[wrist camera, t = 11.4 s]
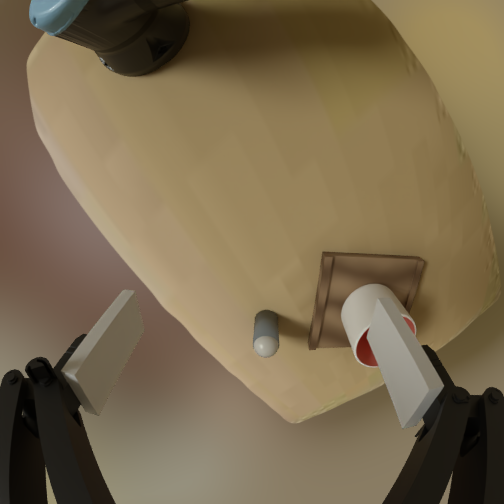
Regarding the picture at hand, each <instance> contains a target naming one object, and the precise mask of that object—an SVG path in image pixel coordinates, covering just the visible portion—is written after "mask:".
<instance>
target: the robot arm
mask: <svg viewBox="0 0 504 504" xmlns="http://www.w3.org/2000/svg"><path fill="white" fill-rule="evenodd" d="M185 1H188V0H32V1H31V5H30V10H29V16H30V20H31V22H32V24H33V25H34V26H35V27H37V28H39V29H41V30H43V31H45V32H47V33H48V34H49V35H51V36H56V37H59V38H62V39H65V40H68V41H70V42H73V43H76V44H79V45H81V46H84V47H86V48H89V49H91V50H94V51H95V53H96V54H97V56H98V57H99V58H100V60H101V62H102V63H103V64H104V66H105V67H107V68H108V69H109V70H111V71H113V72H115V73H118V74H120V75H124V76H139V75H144V74H147V73H150V72H152V71H154V70H156V69H158V68H160V67H161V66H163V65H164V64H166V63H167V62H168V61H170V60H171V59H172V58H173V57H174V56H175V55H176V54H177V53H178V51H179V50H180V49H181V47H182V46H183V44H184V42H185V40H186V38H187V35H188V32H189V18H188V15H187V13H186V11H185V10H184V8H183V7H182V6H181V4H180V3H181V2H185ZM143 332H144V326H143V322H142V318H141V314H140V310H139V305H138V301H137V296H136V291H134V290H123V291H122V292H121V293H120V295H119V296H118V297H117V298H116V299H115V301H114V302H113V303H112V304H111V305H110V307H109V308H108V309H107V310H106V312H105V313H104V314H103V316H102V317H101V318H100V319H99V321H98V322H97V323H96V324H95V325H94V327H93V328H92V329H91V331H90V332H89V333H88V335H87V334H82V335H81V336H80V337H78V338H76V339H75V341H74V342H73V343H72V344H71V346H70V347H69V348H68V350H67V351H66V353H65V354H64V355H63V356H62V358H61V359H60V360H59V362H58V363H57V364H56V366H55V367H54V368H52V366H51V364H50V363H49V361H48V360H47V359H46V358H43V357H37V358H35V359H32V360H31V361H30V362H29V363H28V364H27V366H26V368H25V371H26V373H27V375H28V376H29V378H24V376H23V375H22V373H21V372H20V371H19V370H15V369H14V370H11V371H9V372H7V373H6V374H5V375H4V377H3V379H2V383H1V386H0V504H48V501H47V490H46V471H45V464H46V468H47V472H48V475H49V479H50V483H51V486H52V489H53V493H54V495H55V499H56V501H57V504H116V503H115V501H114V499H113V498H112V495H111V493H110V491H109V489H108V487H107V485H106V483H105V480H104V479H103V476H102V474H101V471H100V469H99V466H98V464H97V461H96V459H95V456H94V454H93V451H92V448H91V445H90V442H89V439H88V437H87V433H86V430H85V427H84V424H83V420H82V417H81V414H80V412H79V410H78V408H79V406H80V405H82V406H83V408H84V409H85V411H86V412H89V413H92V414H95V415H98V416H99V415H100V413H101V411H102V409H103V407H104V405H105V403H106V401H107V399H108V397H109V395H110V393H111V391H112V389H113V387H114V385H115V383H116V382H117V380H118V378H119V376H120V374H121V372H122V370H123V368H124V366H125V365H126V363H127V361H128V359H129V357H130V355H131V353H132V352H133V350H134V348H135V346H136V344H137V343H138V341H139V339H140V337H141V336H142V334H143ZM366 338H367V340H368V342H369V344H370V347H371V349H372V351H373V354H374V356H375V359H376V361H377V363H378V366H379V368H380V371H381V373H382V376H383V378H384V381H385V383H386V386H387V388H388V391H389V394H390V396H391V399H392V402H393V404H394V407H395V410H396V412H397V415H398V418H399V421H400V423H401V426H402V429H404V428H408V427H412V426H416V425H417V424H418V423H419V421H420V420H421V419H422V418H423V421H424V423H425V424H424V425H423V426H422V428H421V429H420V430H419V431H418V433H417V434H416V435H415V437H417V436H418V438H417V440H416V442H415V444H414V446H413V449H412V451H411V453H410V455H409V457H408V459H407V461H406V463H405V465H404V467H403V469H402V471H401V473H400V474H399V477H398V478H397V480H396V482H395V483H394V485H393V487H392V488H391V490H390V492H389V493H388V495H387V497H386V498H385V500H384V502H383V503H382V504H439V503H440V501H441V499H442V496H443V494H444V492H445V490H446V487H447V485H448V482H449V479H450V477H451V474H452V471H453V475H452V481H451V488H450V493H449V499H448V504H504V396H503V394H502V392H501V391H500V390H498V389H497V388H494V387H489V388H487V389H486V390H485V392H484V393H483V394H482V395H470V394H469V393H468V391H467V390H466V389H464V388H462V387H456V386H455V385H454V383H453V381H452V380H451V378H450V376H449V375H448V373H447V371H446V369H445V368H444V366H442V363H441V362H440V360H439V358H438V356H437V355H436V353H435V352H434V350H432V349H431V348H430V347H429V346H428V345H422V346H421V345H420V343H419V342H418V340H417V338H416V337H415V335H414V334H413V332H412V330H411V329H410V327H409V326H408V324H407V323H406V321H405V320H404V318H403V316H402V315H401V313H400V312H399V310H398V309H397V307H396V306H395V304H394V303H393V302H392V300H391V299H390V298H378V299H377V302H376V306H375V310H374V314H373V317H372V321H371V324H370V327H369V331H368V334H367V337H366ZM22 412H23V415H22Z"/></svg>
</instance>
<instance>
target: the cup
mask: <svg viewBox="0 0 504 504" xmlns="http://www.w3.org/2000/svg"><path fill="white" fill-rule="evenodd" d="M378 298H390V299H391V300H392V302H393V303H394V304H395V306H396V307H397V309H398V310H399V312H400V313H401V315H402V316H403V318H404V320H405V321H406V323H407V324H408V326H409V327H410V329H411V330H412V332H413V334H414V335H415V336H416V325H415V322H414V320H413V319H412V318H411V316H410V315H409V313H408V312H407V311H406V309H405V308H404V307H403V305H402V304H401V303H400V301H399V300H398V299H397V297H396V296H395V295H394V293H393V292H392V291H391V290H390V289H389V288H388V287H386V286H384V285H381V284H367V285H364V286H362V287H360V288H358V289H356V290H355V291H353V292H352V293H351V294H350V295H349V296H348V298H347V299H346V301H345V303H344V305H343V307H342V311H341V319H342V323H343V326H344V328H345V331H346V334H347V336H348V339H349V342H350V344H351V347H352V350H353V353H354V355H355V358H356V360H357V361H358V362H359V363H360V364H362V365H364V366H367V367H379V366H378V363H377V361H376V359H375V356H374V354H373V351H372V349H371V347H370V344H369V342H368V340H367V338H366V337H367V334H368V331H369V327H370V324H371V321H372V317H373V314H374V310H375V306H376V302H377V299H378Z"/></svg>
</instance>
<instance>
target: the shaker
mask: <svg viewBox="0 0 504 504" xmlns="http://www.w3.org/2000/svg"><path fill="white" fill-rule="evenodd" d="M253 348H254V350H255V352H256V353H257V354H258V355H259V356H261V357H264V358H267V357H271V356H273V355H274V354H275V353H276V352H277V350H278V348H279V331H278V317H277V315H276V314H275V313H274V312H273V311H270V310H263V311H260V312H259V313H257V314H256V316H255V323H254V337H253Z"/></svg>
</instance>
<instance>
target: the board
mask: <svg viewBox="0 0 504 504" xmlns="http://www.w3.org/2000/svg"><path fill="white" fill-rule="evenodd" d="M423 265H424V261H423V260H422V259H421V258H420V257H415V256H396V255H377V254H358V253H338V252H322V259H321V266H320V273H319V280H318V287H317V293H316V299H315V306H314V311H313V317H312V323H311V328H310V334H309V339H308V346H309V350H316V348H337V347H351V344H350V342H349V339H348V336H347V334H346V331H345V328H344V326H343V323H342V319H341V311H342V307H343V305H344V303H345V301H346V299H347V298H348V296H349V295H350V294H351V293H352V292H353V291H355V290H356V289H358V288H360V287H362V286H364V285H367V284H381V285H384V286H386V287H388V288H389V289H390V290H391V291H392V292H393V293H394V295H395V296H396V297H397V299H398V300H399V301H400V303H401V304H402V305H403V307H404V308H405V309H406V311H407V312H408V313H409V312H410V309H411V306H412V303H413V300H414V297H415V293H416V290H417V287H418V283H419V280H420V276H421V273H422V269H423Z"/></svg>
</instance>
